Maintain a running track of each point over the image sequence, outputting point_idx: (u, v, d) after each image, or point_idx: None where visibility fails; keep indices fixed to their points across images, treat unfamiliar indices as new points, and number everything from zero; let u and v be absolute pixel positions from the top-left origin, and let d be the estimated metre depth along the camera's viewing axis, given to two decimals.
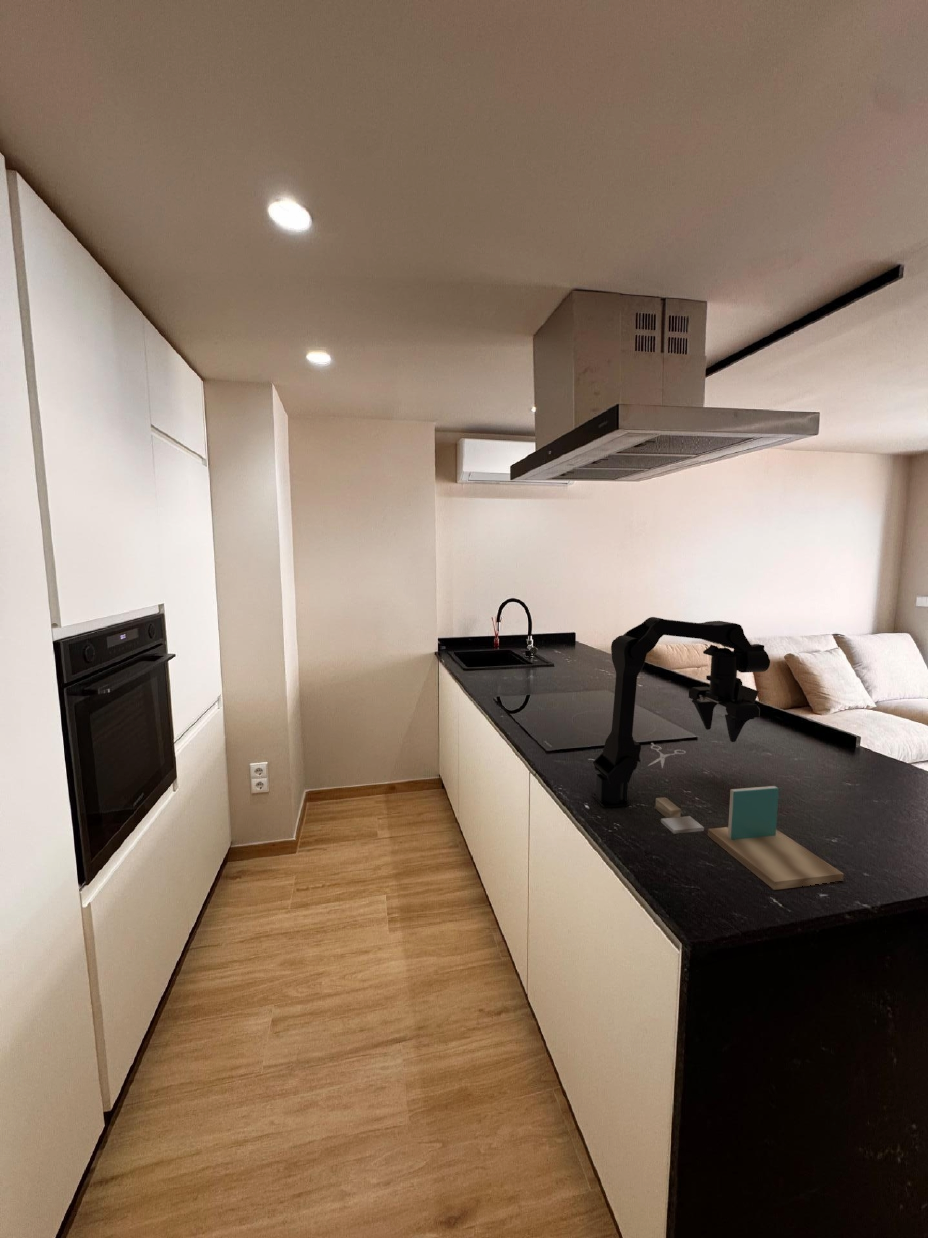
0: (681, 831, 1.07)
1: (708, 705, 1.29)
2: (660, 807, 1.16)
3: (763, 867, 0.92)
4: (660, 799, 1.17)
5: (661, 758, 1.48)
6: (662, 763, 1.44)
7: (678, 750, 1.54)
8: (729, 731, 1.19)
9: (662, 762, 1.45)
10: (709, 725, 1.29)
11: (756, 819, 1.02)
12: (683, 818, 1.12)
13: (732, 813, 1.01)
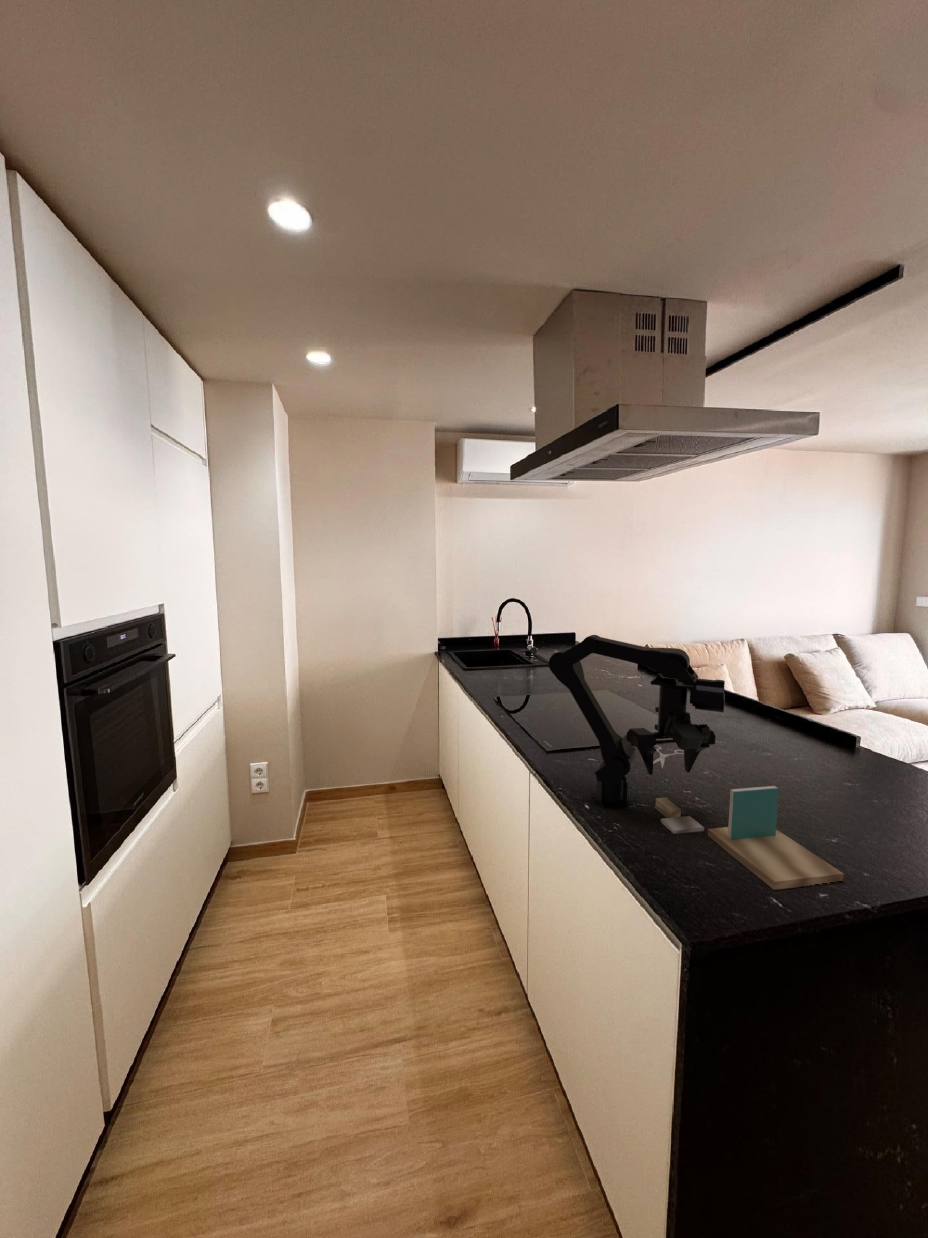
0: (681, 831, 1.07)
1: None
2: (660, 807, 1.16)
3: (763, 867, 0.92)
4: (660, 799, 1.17)
5: (661, 758, 1.48)
6: (662, 763, 1.44)
7: (678, 750, 1.54)
8: None
9: (662, 762, 1.45)
10: (687, 767, 1.14)
11: (756, 819, 1.02)
12: (683, 818, 1.12)
13: (732, 813, 1.01)
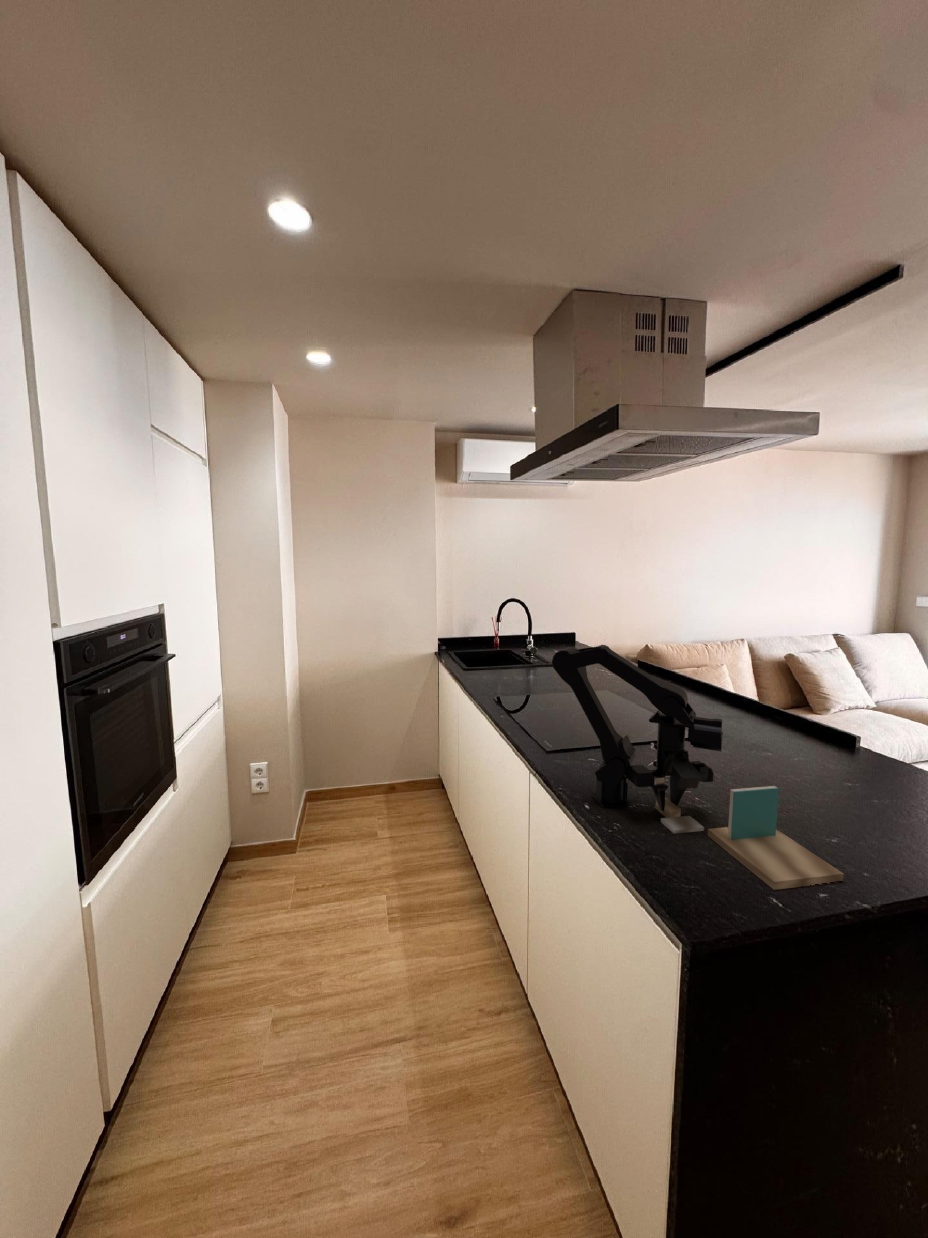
0: (681, 831, 1.07)
1: None
2: None
3: (763, 867, 0.92)
4: None
5: None
6: None
7: None
8: None
9: None
10: None
11: (756, 819, 1.02)
12: (683, 817, 1.12)
13: (732, 813, 1.01)
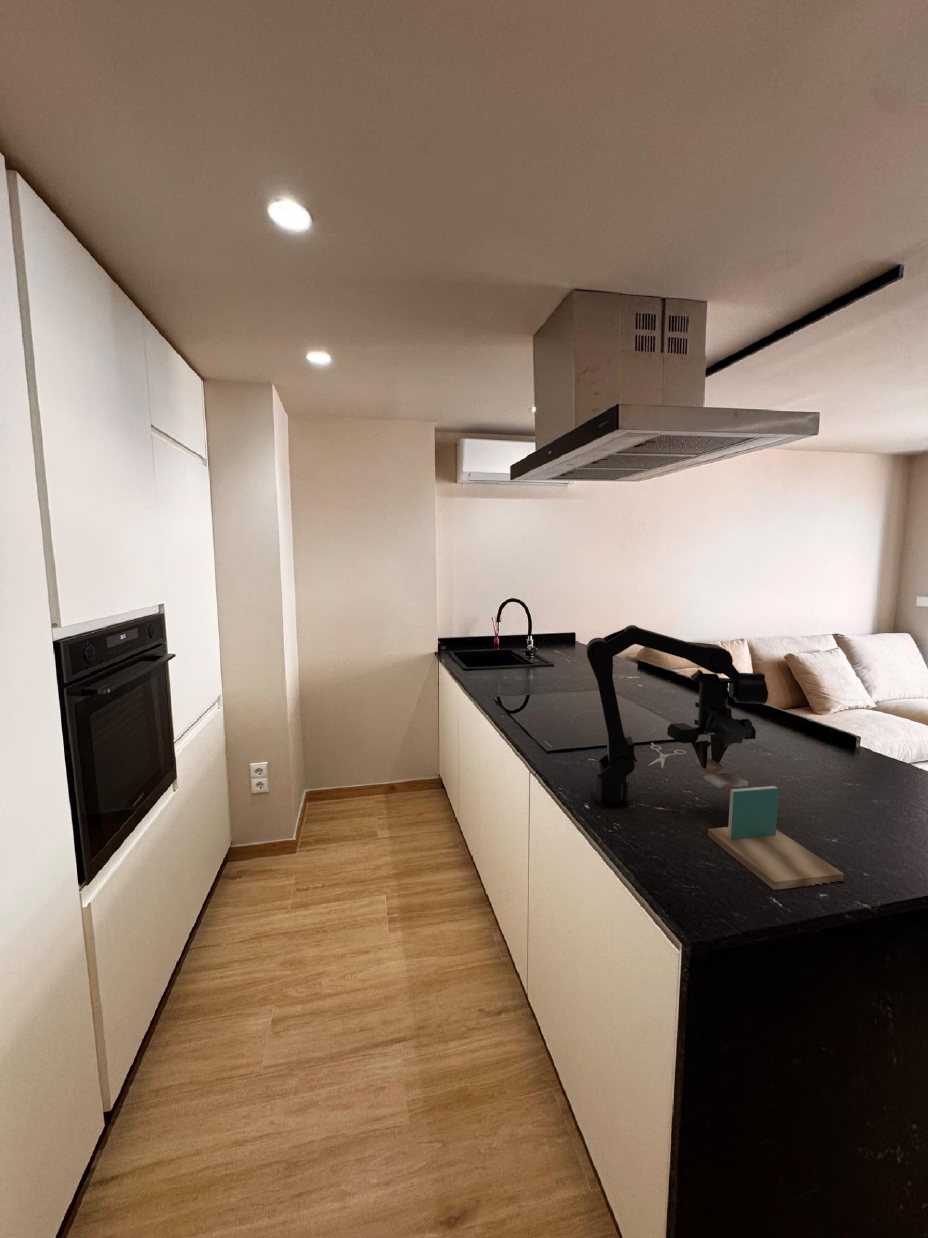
0: (726, 785, 1.07)
1: (718, 741, 1.15)
2: None
3: (763, 867, 0.92)
4: None
5: (661, 758, 1.48)
6: (662, 763, 1.44)
7: (678, 750, 1.54)
8: None
9: (662, 762, 1.45)
10: None
11: (756, 819, 1.02)
12: (726, 774, 1.12)
13: (732, 813, 1.01)
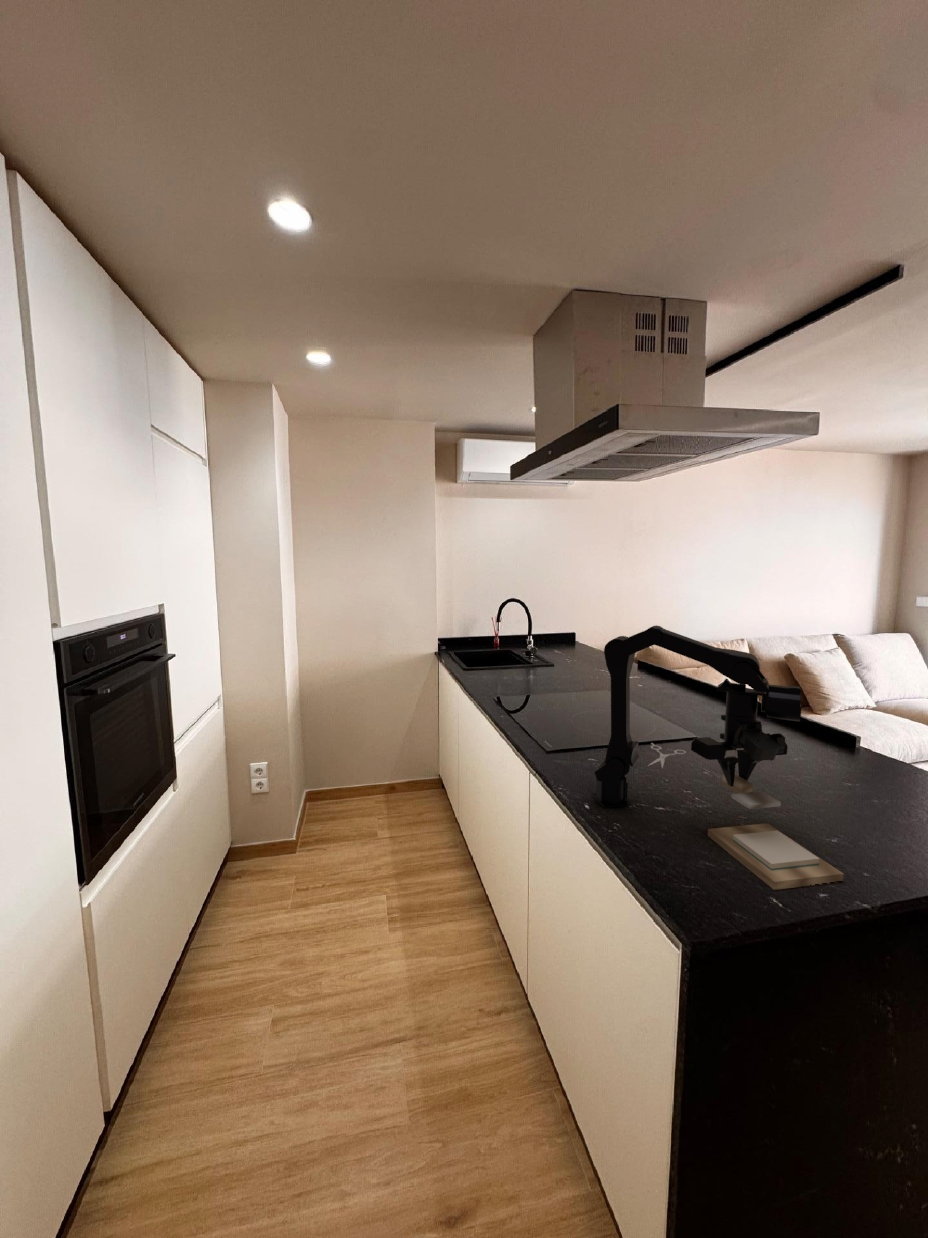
0: (757, 806, 0.99)
1: (746, 756, 1.06)
2: None
3: (763, 867, 0.92)
4: None
5: (661, 758, 1.48)
6: (662, 763, 1.44)
7: (678, 750, 1.54)
8: None
9: (662, 762, 1.45)
10: None
11: None
12: (755, 793, 1.04)
13: (752, 854, 0.96)
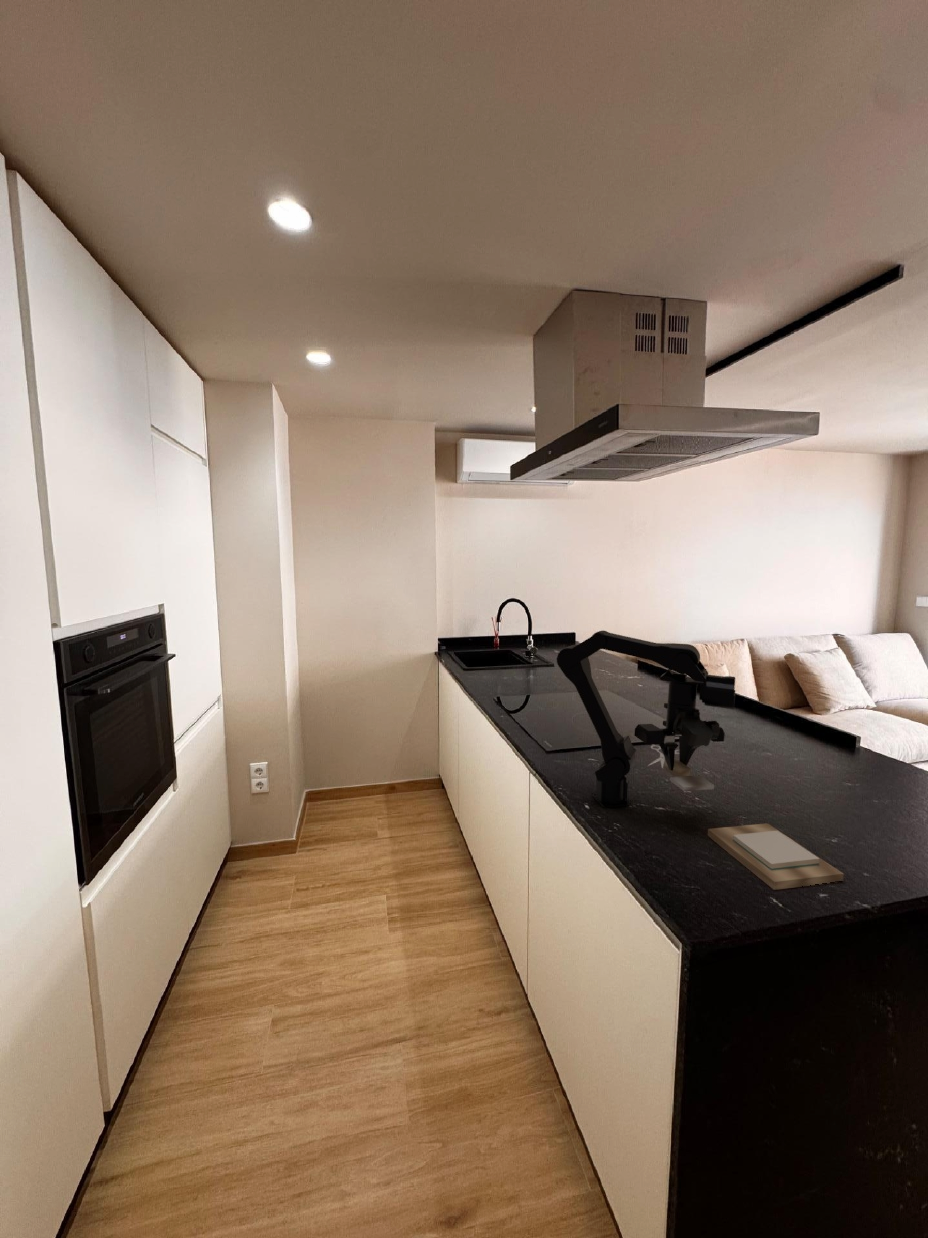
0: (691, 788, 1.05)
1: (686, 743, 1.13)
2: None
3: (763, 867, 0.92)
4: None
5: (661, 758, 1.48)
6: (662, 763, 1.44)
7: (678, 750, 1.54)
8: None
9: (662, 762, 1.45)
10: None
11: None
12: (692, 777, 1.10)
13: (752, 854, 0.96)
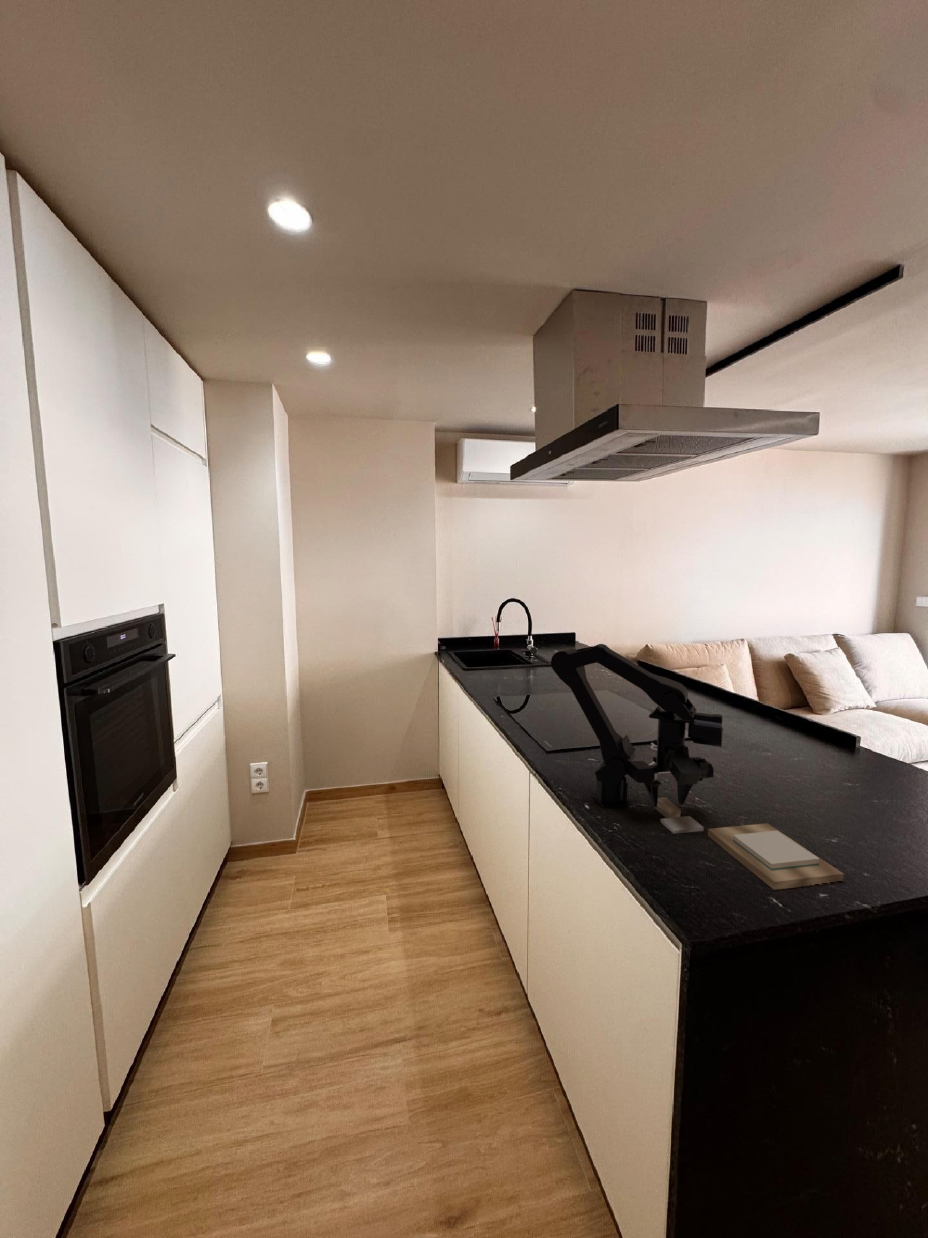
0: (681, 831, 1.07)
1: None
2: (660, 807, 1.16)
3: (763, 867, 0.92)
4: (660, 799, 1.17)
5: None
6: None
7: None
8: None
9: None
10: (680, 800, 1.15)
11: None
12: (682, 818, 1.12)
13: (752, 854, 0.96)
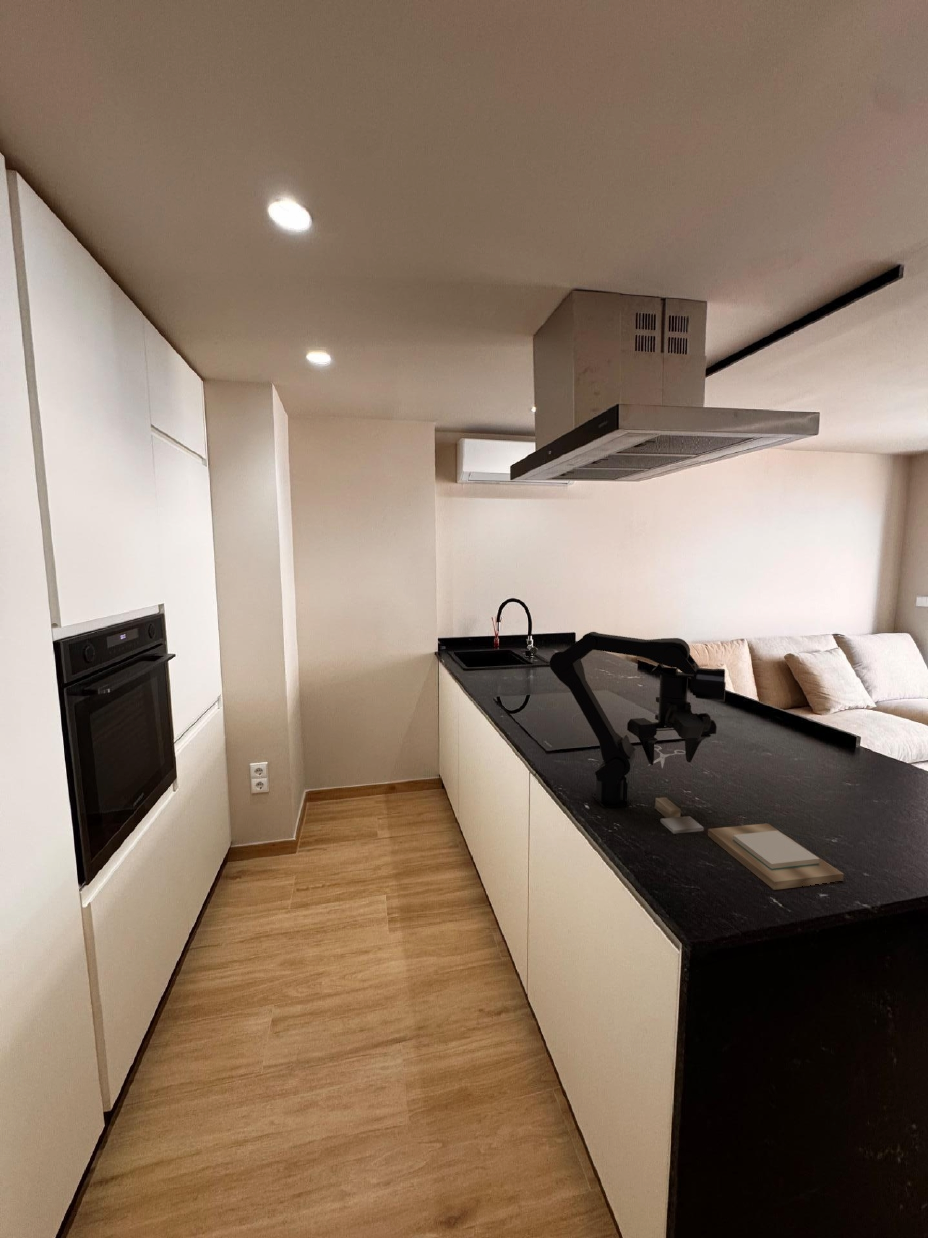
0: (681, 831, 1.07)
1: None
2: (660, 806, 1.16)
3: (763, 867, 0.92)
4: (660, 799, 1.17)
5: (661, 758, 1.48)
6: (662, 763, 1.44)
7: (678, 750, 1.54)
8: None
9: (662, 762, 1.45)
10: (688, 757, 1.14)
11: None
12: (683, 818, 1.12)
13: (752, 854, 0.96)
